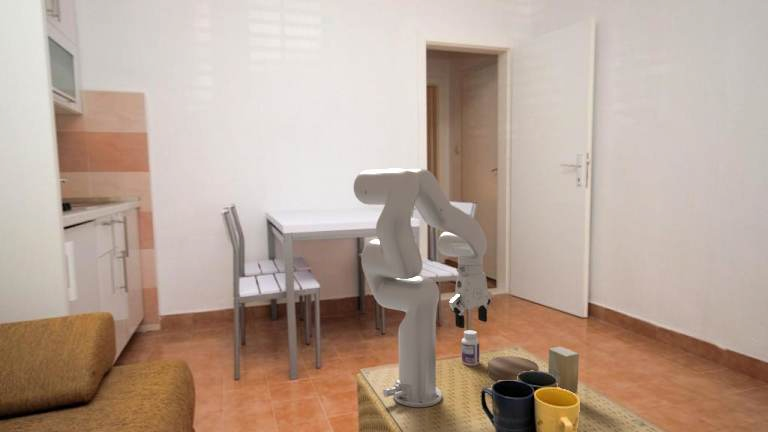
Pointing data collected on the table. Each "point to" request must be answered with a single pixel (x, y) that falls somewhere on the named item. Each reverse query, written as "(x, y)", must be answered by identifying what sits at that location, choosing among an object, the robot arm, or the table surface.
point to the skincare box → (564, 368)
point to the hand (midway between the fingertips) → (471, 324)
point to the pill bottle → (470, 348)
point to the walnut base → (509, 367)
